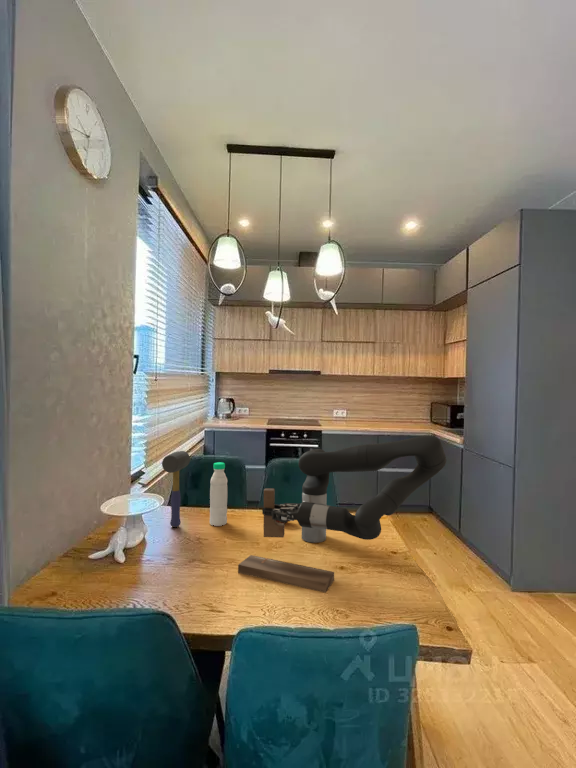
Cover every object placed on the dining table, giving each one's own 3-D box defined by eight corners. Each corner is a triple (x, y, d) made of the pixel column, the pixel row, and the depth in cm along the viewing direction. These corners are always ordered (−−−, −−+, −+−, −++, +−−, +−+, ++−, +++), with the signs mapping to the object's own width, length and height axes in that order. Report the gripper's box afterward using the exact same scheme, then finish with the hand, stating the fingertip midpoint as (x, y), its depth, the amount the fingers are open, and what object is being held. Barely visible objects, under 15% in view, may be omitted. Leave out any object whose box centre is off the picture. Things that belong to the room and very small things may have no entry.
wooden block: (263, 537, 133) (263, 490, 134) (264, 534, 137) (264, 488, 137) (283, 537, 133) (283, 490, 134) (284, 534, 136) (284, 488, 137)
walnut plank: (250, 562, 133) (250, 554, 133) (334, 580, 122) (334, 571, 122) (238, 572, 126) (238, 564, 126) (325, 592, 115) (325, 583, 115)
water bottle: (225, 526, 167) (226, 464, 167) (207, 526, 167) (208, 464, 167) (228, 521, 174) (229, 461, 174) (211, 520, 174) (212, 461, 174)
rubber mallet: (173, 521, 172) (174, 449, 172) (190, 522, 171) (191, 450, 171) (159, 531, 160) (160, 454, 160) (177, 533, 158) (178, 455, 159)
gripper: (322, 498, 135) (275, 492, 142) (307, 509, 122) (256, 503, 129) (322, 521, 135) (275, 514, 142) (307, 535, 122) (255, 527, 129)
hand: (266, 509), depth 136 cm, fingers closed on wooden block, 4 cm apart
